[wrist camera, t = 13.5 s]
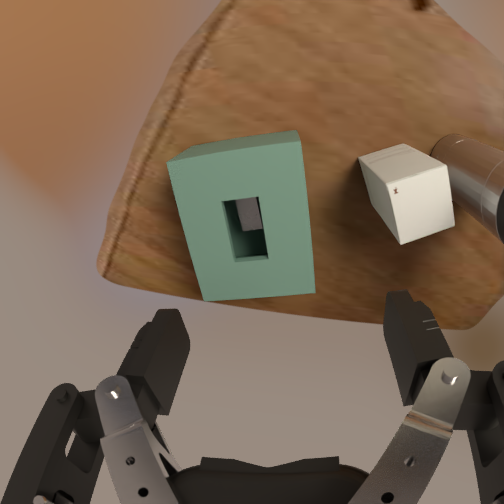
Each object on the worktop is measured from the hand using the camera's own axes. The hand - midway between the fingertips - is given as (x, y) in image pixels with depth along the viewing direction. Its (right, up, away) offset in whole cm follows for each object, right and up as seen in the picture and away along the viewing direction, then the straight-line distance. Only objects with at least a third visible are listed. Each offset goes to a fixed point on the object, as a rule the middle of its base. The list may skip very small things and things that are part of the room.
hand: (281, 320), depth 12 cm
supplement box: (+18, +13, +28) cm, 35 cm away
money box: (-1, +10, +32) cm, 33 cm away
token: (-1, +10, +30) cm, 32 cm away
